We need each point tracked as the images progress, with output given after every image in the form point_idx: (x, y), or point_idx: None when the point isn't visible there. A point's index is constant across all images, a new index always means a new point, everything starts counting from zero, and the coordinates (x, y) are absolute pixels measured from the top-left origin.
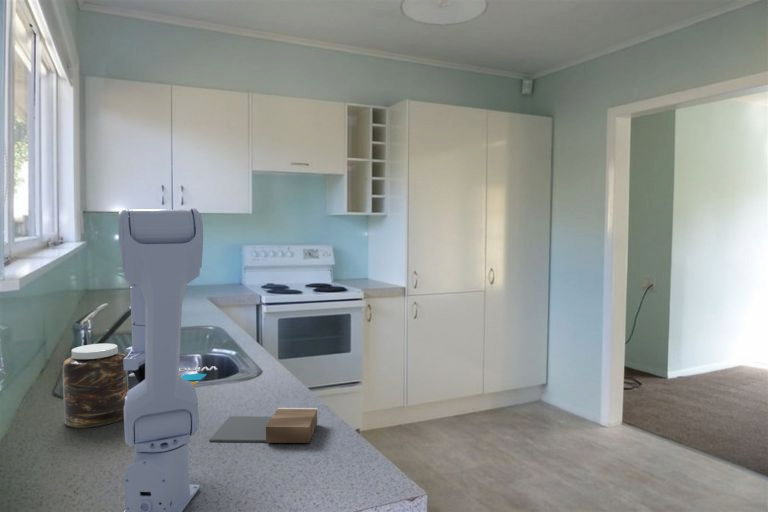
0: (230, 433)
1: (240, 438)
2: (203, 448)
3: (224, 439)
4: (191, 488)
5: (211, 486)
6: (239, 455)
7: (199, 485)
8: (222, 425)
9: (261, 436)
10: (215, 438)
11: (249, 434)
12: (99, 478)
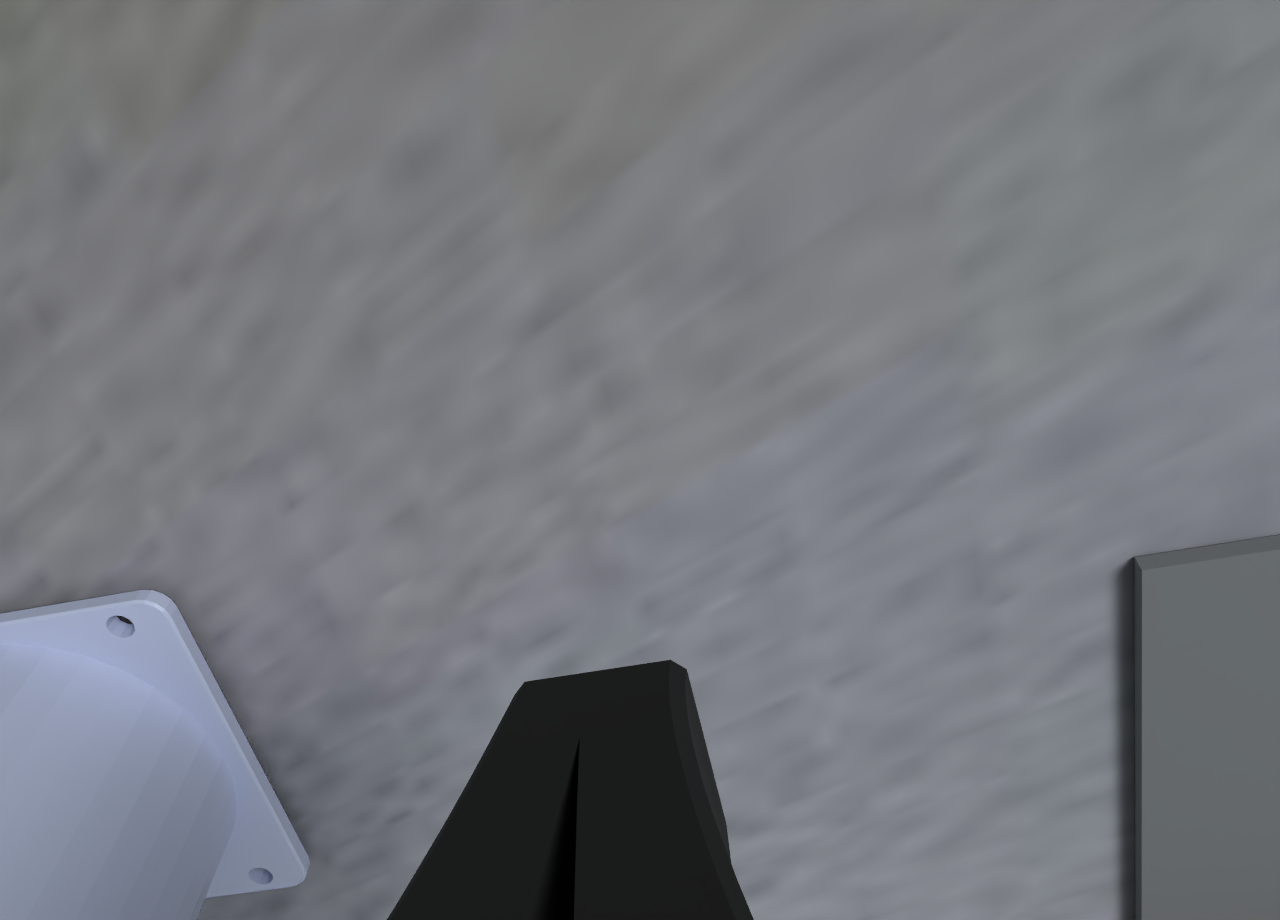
0: None
1: (1173, 790)
2: (968, 579)
3: (1147, 687)
4: (240, 864)
5: (370, 899)
6: (866, 868)
7: (300, 882)
8: None
9: (1220, 904)
10: (1168, 610)
11: (1271, 816)
12: (75, 17)
